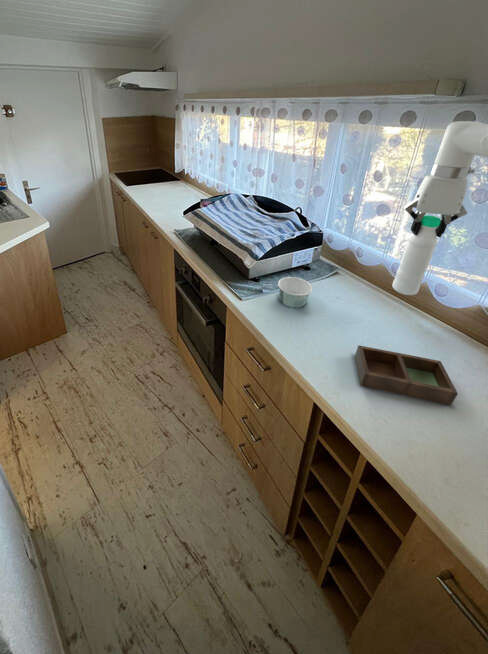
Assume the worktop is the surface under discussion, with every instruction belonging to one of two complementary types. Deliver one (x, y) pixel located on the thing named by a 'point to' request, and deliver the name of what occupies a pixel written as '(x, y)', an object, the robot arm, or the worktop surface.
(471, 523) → the worktop surface
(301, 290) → the food container
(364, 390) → the worktop surface
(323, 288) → the worktop surface
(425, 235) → the water bottle
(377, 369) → the tray
